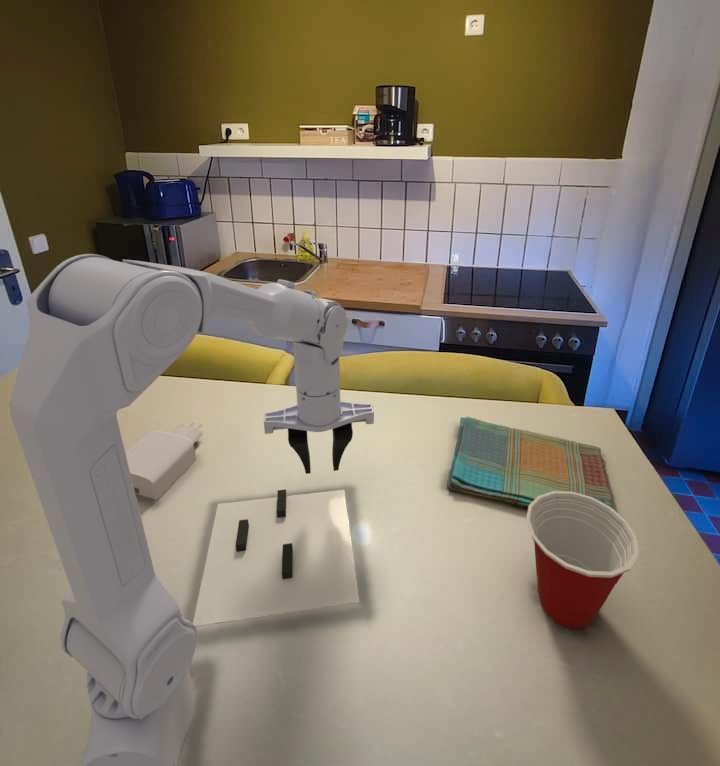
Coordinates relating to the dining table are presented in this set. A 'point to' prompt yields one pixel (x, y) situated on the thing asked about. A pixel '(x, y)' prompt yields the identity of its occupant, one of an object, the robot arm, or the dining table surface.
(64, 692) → the dining table surface
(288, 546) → the ink strip
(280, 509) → the ink strip
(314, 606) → the whiteboard
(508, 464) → the dish towel
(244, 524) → the ink strip
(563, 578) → the plastic cup
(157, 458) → the charger
